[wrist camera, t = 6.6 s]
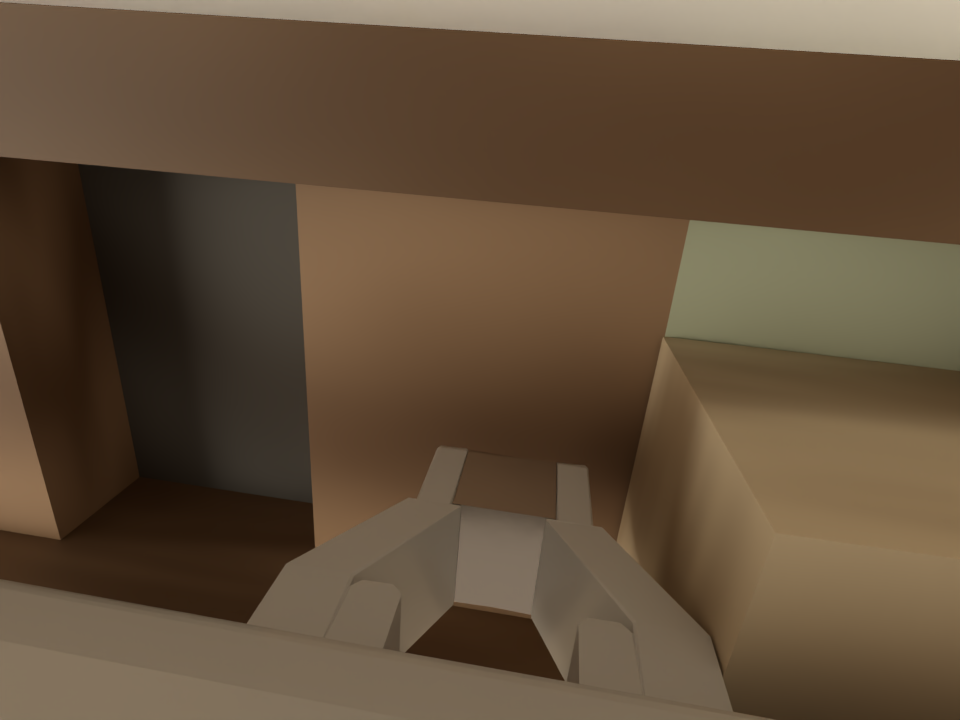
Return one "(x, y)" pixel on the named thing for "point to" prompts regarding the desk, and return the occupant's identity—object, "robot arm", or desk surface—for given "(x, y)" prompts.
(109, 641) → the robot arm
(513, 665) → the track
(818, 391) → the maple cube
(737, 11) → the desk surface
